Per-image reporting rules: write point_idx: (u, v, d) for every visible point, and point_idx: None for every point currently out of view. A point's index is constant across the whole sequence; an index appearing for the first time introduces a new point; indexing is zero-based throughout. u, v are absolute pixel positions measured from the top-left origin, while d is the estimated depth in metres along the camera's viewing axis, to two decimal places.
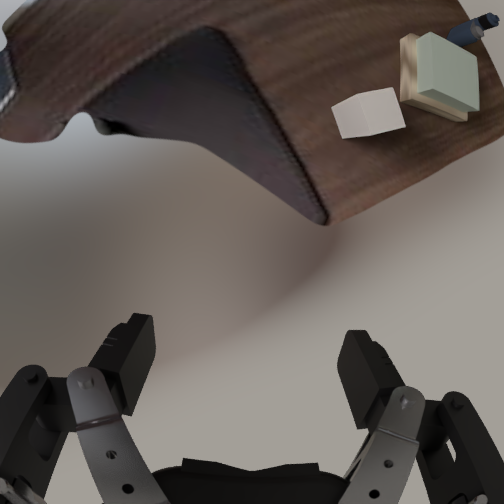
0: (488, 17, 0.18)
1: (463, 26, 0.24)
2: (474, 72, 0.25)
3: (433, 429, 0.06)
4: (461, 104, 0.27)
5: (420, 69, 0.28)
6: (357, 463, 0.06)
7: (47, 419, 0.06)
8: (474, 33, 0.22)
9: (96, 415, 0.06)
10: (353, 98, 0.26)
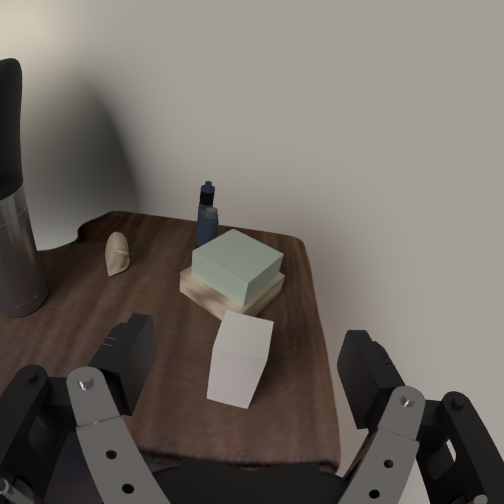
0: (204, 190, 0.47)
1: (200, 225, 0.50)
2: (246, 238, 0.43)
3: (433, 429, 0.06)
4: (271, 268, 0.40)
5: (222, 287, 0.38)
6: (357, 463, 0.06)
7: (47, 419, 0.06)
8: (211, 216, 0.47)
9: (96, 415, 0.06)
10: (214, 356, 0.24)
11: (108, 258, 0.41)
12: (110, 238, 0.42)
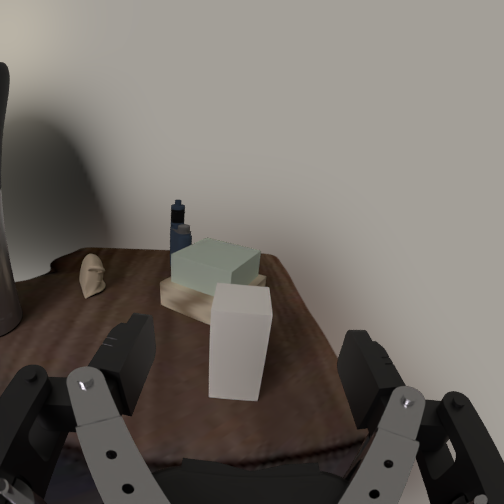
0: (175, 207, 0.47)
1: (173, 244, 0.49)
2: (222, 243, 0.43)
3: (433, 429, 0.06)
4: (251, 263, 0.39)
5: (205, 286, 0.36)
6: (357, 463, 0.06)
7: (47, 419, 0.06)
8: (184, 231, 0.47)
9: (96, 415, 0.06)
10: (213, 324, 0.22)
11: (83, 279, 0.38)
12: (84, 260, 0.39)
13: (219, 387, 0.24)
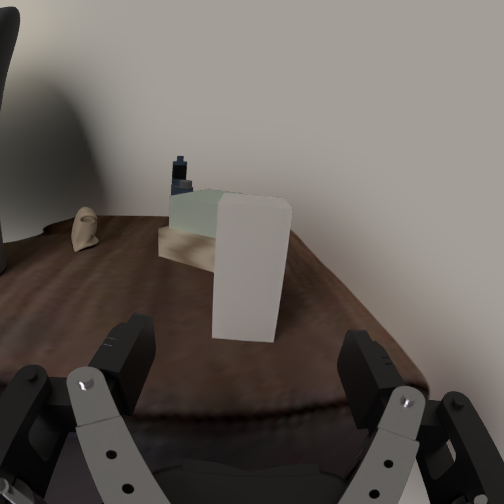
0: (177, 162, 0.44)
1: None
2: (224, 191, 0.40)
3: (433, 429, 0.06)
4: None
5: (206, 227, 0.33)
6: (357, 463, 0.06)
7: (47, 419, 0.06)
8: (186, 186, 0.43)
9: (96, 415, 0.06)
10: (220, 224, 0.18)
11: (74, 232, 0.34)
12: (77, 213, 0.36)
13: (225, 321, 0.20)
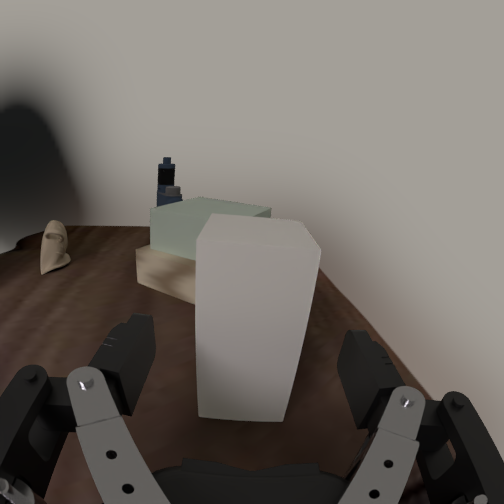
0: (163, 165, 0.36)
1: None
2: (219, 201, 0.32)
3: (433, 429, 0.06)
4: None
5: None
6: (357, 463, 0.06)
7: (47, 419, 0.06)
8: (173, 193, 0.36)
9: (96, 415, 0.06)
10: (202, 273, 0.11)
11: (41, 250, 0.27)
12: None
13: (216, 401, 0.13)
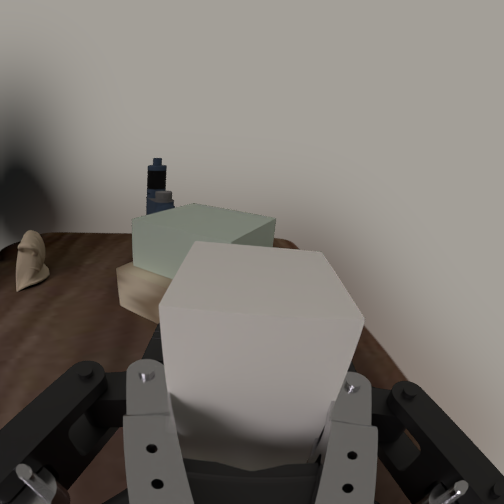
0: (152, 167, 0.32)
1: None
2: (215, 208, 0.28)
3: (381, 418, 0.07)
4: (263, 235, 0.24)
5: None
6: (317, 458, 0.06)
7: (95, 416, 0.07)
8: (163, 199, 0.31)
9: (148, 408, 0.06)
10: (172, 353, 0.06)
11: (16, 265, 0.23)
12: None
13: None
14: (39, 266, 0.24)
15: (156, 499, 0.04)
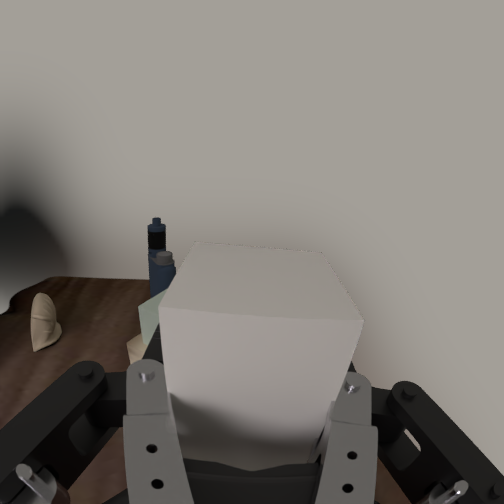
0: (152, 229, 0.34)
1: (152, 277, 0.36)
2: None
3: (381, 418, 0.07)
4: None
5: None
6: (317, 457, 0.06)
7: (95, 416, 0.07)
8: (164, 261, 0.34)
9: (148, 408, 0.06)
10: (172, 354, 0.06)
11: None
12: (33, 301, 0.26)
13: None
14: (52, 328, 0.26)
15: (156, 499, 0.04)
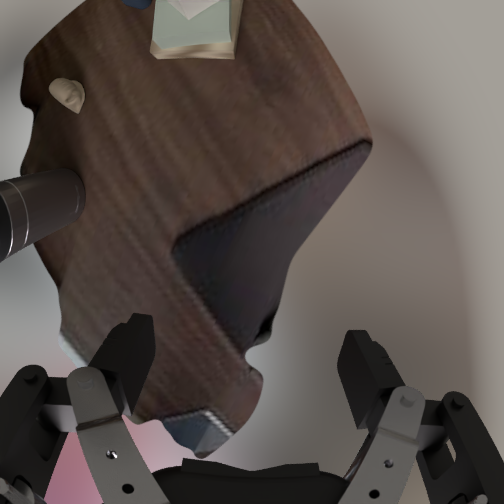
0: None
1: None
2: None
3: (433, 429, 0.06)
4: None
5: (201, 41, 0.28)
6: (357, 463, 0.06)
7: (47, 419, 0.06)
8: None
9: (96, 415, 0.06)
10: None
11: None
12: (52, 93, 0.29)
13: (192, 9, 0.23)
14: (78, 91, 0.32)
15: None
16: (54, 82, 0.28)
